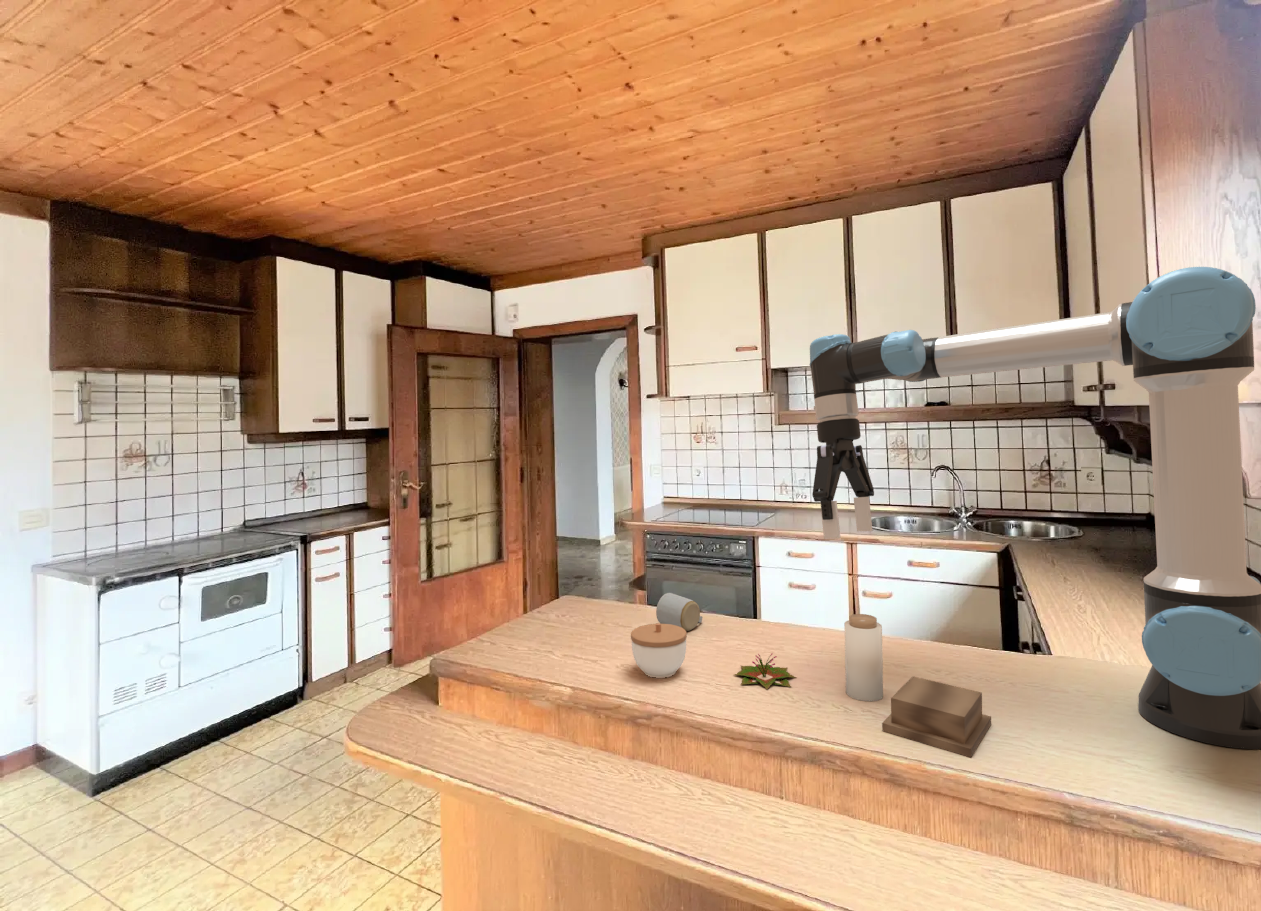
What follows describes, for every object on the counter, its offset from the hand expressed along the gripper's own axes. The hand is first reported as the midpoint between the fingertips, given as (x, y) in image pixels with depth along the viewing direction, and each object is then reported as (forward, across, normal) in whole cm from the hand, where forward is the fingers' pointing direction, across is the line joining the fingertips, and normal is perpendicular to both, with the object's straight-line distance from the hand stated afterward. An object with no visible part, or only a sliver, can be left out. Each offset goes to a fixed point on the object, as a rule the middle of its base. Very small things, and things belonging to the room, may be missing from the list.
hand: (849, 534), depth 112 cm
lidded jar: (+24, +20, -32) cm, 44 cm away
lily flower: (+26, +9, -15) cm, 31 cm away
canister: (+27, +5, +2) cm, 27 cm away
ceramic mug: (+21, -4, -45) cm, 50 cm away
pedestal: (+28, +9, +15) cm, 33 cm away
